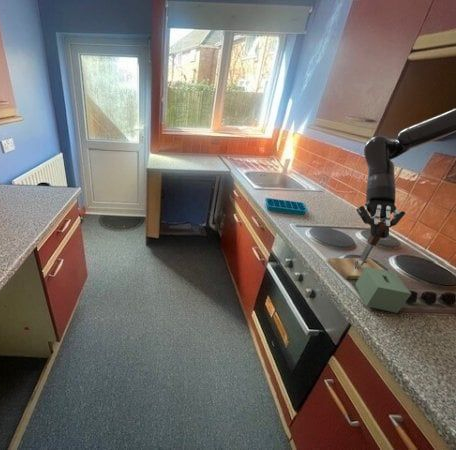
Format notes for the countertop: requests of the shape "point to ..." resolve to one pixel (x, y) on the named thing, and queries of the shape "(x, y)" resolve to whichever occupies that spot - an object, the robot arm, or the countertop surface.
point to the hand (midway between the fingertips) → (379, 236)
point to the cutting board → (351, 266)
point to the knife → (372, 243)
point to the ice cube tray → (285, 206)
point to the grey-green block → (382, 289)
